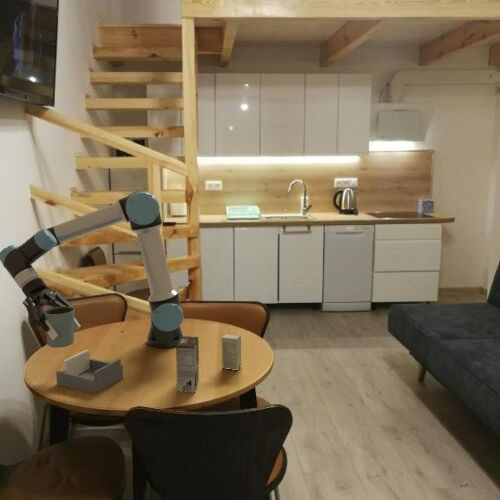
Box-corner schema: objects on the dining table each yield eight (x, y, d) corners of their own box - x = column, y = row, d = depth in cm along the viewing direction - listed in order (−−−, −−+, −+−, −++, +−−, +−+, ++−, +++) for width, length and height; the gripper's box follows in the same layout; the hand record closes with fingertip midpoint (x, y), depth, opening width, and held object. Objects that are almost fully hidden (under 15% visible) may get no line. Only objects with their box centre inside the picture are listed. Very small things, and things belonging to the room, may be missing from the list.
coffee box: (180, 380, 167) (180, 335, 164) (199, 380, 167) (199, 336, 164) (176, 392, 158) (175, 345, 155) (195, 392, 158) (195, 345, 155)
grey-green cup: (45, 349, 162) (43, 315, 160) (45, 340, 171) (43, 307, 169) (77, 346, 166) (75, 312, 164) (75, 336, 175) (73, 304, 173)
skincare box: (241, 367, 179) (241, 335, 177) (237, 371, 175) (237, 339, 172) (225, 364, 181) (225, 333, 179) (221, 369, 177) (221, 337, 175)
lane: (56, 384, 163) (55, 364, 161) (86, 369, 175) (85, 350, 174) (95, 393, 156) (94, 373, 155) (123, 377, 169) (122, 358, 168)
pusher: (63, 380, 163) (62, 360, 162) (87, 367, 173) (86, 349, 172) (66, 380, 162) (65, 361, 161) (89, 368, 173) (89, 350, 171)
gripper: (50, 283, 182) (84, 329, 178) (-2, 297, 162) (35, 349, 158) (60, 271, 179) (95, 318, 175) (8, 283, 159) (47, 336, 155)
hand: (67, 333), depth 167 cm, fingers closed on grey-green cup, 10 cm apart
